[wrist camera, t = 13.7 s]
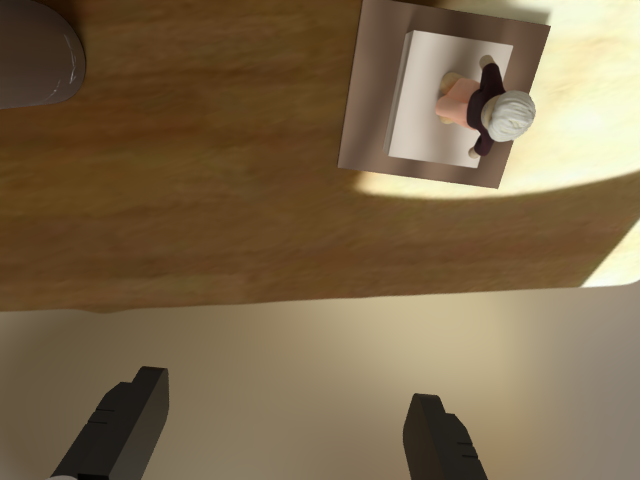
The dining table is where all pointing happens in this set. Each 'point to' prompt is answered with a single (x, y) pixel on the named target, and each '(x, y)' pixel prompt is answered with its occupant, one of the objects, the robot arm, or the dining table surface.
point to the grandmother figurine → (485, 107)
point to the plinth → (383, 76)
